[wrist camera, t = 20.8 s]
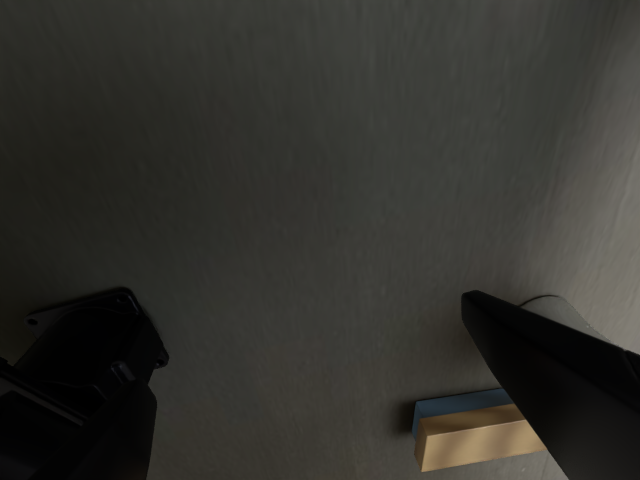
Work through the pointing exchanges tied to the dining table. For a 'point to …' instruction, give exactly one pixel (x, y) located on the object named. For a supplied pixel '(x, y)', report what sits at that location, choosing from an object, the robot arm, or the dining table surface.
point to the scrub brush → (470, 430)
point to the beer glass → (563, 315)
